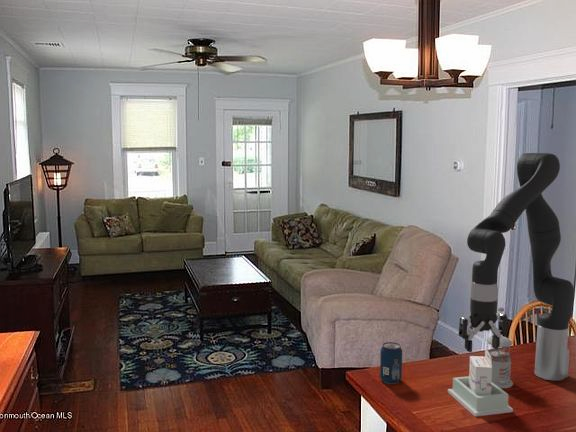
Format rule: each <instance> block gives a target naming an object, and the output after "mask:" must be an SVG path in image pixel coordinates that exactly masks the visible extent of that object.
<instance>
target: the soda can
mask: <svg viewBox="0 0 576 432" xmlns="http://www.w3.org/2000/svg"><path fill="white" fill-rule="evenodd" d="M379 357H380V359H379V360H380V362H379V363H380V365H379V377H380V379H381V381H382V382H383V383H384V384H388V385H396V384H399V382H401V380H402V378H403V377H402V375H403V370H402V369H403V350H402V345H401V344H400V343H398V342H392V341H387V342H384V343H382V346H381V348H380V356H379Z"/></svg>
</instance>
